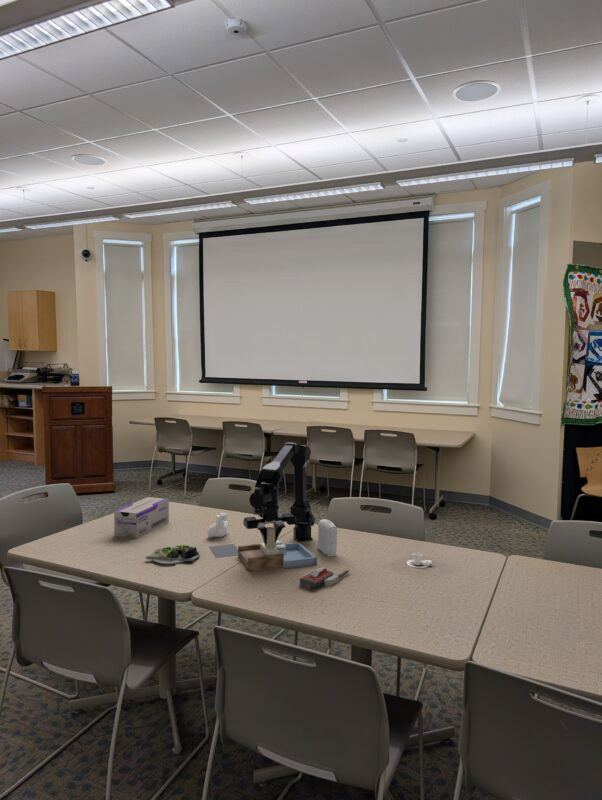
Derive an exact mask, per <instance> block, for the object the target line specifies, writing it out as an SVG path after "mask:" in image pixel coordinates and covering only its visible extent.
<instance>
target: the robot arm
mask: <svg viewBox="0 0 602 800" xmlns="http://www.w3.org/2000/svg"><path fill="white" fill-rule="evenodd" d="M311 455H312V452H311V448H310V447H309V445H304V444H298V443H296V442H289V441H288V442H285V443H284V444H283V447H282V448H281V450H279V452H278V454H277V455H276V456H275V458H274V459H273V460H272V461H271V462H270V463H267V464H265V465H264V466H263V467H262V468H261V469H260V471H259V473H258V476H257V479H256V481H255V484H254V487H255V488H254V492H252V493H251V494H250V496H249V499H248V500H249V504H250V506H251V507H252V508H253V509H252V510H253V511H252V512H253V515H258V517H260V518H256V516H247V517H245V516H244V519H243V526H244V527H245V528H246V529H248V530H253V529H257V531H259V532H260V534H261V537H262V541H263V543H264V544H265V545H266V543H267V528H266V527H267V526H265V525H266V524H267V525H268V524H272V525H273V528H275V543H276V541H278V538H279V536H280V534H281V532H282V530H283V529H284V528H286V525H285V523H286V524H287V525H288V526H290V525H291V526H292V525H293V526H294V527H293V531H292V532H293V535H292V537H293V538H294V539H295V540H296V541H297V542H303V541H305V542H306V541H311V540H313V537H312V526H314V525H315V522H316V517H315V515H314V514H313V512H312V506H311V505H310V503H309V502H308V500H307V499H308V498H307V464H308V463H309V461H310V458H311ZM289 462H290V463H291V465H292V466H293V475H294V476H293V477H294V478H293V479H294V480H293V481H294V482H293V483H294V486H293V487H294V502H293V503H292V505H291V506H290V512H288V513H282V514H281V516H279V509H280V506H279V489H280V488H281V485H280V483H281V481H282V479H283V477H284V474H283V471H284V470H285V468H286V466H287V465H288V464H289Z"/></svg>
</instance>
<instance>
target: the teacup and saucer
mask: <svg viewBox="0 0 602 800" xmlns="http://www.w3.org/2000/svg"><path fill="white" fill-rule="evenodd" d="M412 557H413V558H412ZM409 558H410V559H409V560H407V561H406V565H408V566H409V567H412V568H416V569H422V568H423V569H425V568H427V567H429V566H432V564H433V561H432V560H431V559H426V560H423V554H422V553H421V552H414V553H412V554H410V555H409ZM411 563H413V564H414V565H415V566H414V565H412V564H411ZM421 564H422V565H423V566H421Z"/></svg>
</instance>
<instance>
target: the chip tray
mask: <svg viewBox="0 0 602 800" xmlns="http://www.w3.org/2000/svg"><path fill="white" fill-rule="evenodd" d="M283 544H284V545H285V546H286V555H284V567H283V568H284V569H293V568H294V569H295V568H302V567H307V566H308V567H309V566H316V565H318V560H317V559H318V558H317V556H315V554H313V553H312V552H311V551H310V550H309V549H307V547H305V546H304V545H303V544H302V543H301V542H300V541H297V542H289V543H282V545H283Z"/></svg>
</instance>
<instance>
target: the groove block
mask: <svg viewBox="0 0 602 800" xmlns="http://www.w3.org/2000/svg"><path fill="white" fill-rule="evenodd" d="M260 544H261V542H260V543H253V544H244V545H238V546H237V549H238V555H237V557H238V559H239V560H240V561H241V563H242V564H243V566H245V569H246V570H247V572H252V571H253V572H254V571H261V570H268V569H276V568H277V569H278V568H284V554H274V555H266V554H265V553H264V552H263V551H262V550H261V549H260Z"/></svg>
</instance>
